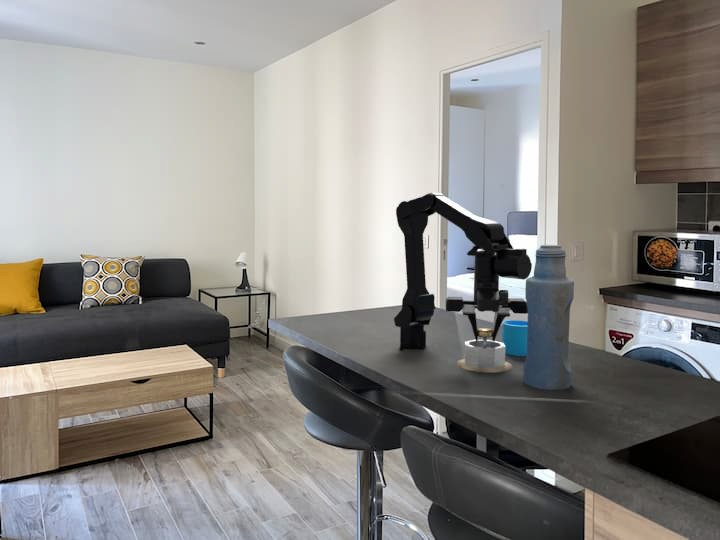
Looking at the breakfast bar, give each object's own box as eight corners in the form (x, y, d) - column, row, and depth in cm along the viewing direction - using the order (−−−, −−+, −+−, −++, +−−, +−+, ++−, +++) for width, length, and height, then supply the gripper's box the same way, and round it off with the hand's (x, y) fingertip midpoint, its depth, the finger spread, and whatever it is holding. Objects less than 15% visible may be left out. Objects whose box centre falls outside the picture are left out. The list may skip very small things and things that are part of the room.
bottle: (565, 395, 113) (571, 247, 110) (516, 387, 119) (521, 245, 116) (575, 383, 121) (581, 244, 118) (529, 376, 127) (533, 243, 124)
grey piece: (465, 369, 131) (466, 347, 130) (463, 355, 143) (463, 336, 142) (506, 370, 129) (506, 349, 129) (500, 357, 141) (501, 337, 141)
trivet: (457, 373, 129) (457, 370, 129) (455, 358, 142) (455, 356, 142) (515, 375, 127) (515, 373, 127) (508, 360, 140) (508, 358, 140)
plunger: (472, 362, 132) (473, 331, 131) (470, 356, 138) (471, 326, 137) (498, 363, 131) (499, 332, 130) (495, 357, 137) (496, 327, 136)
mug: (539, 357, 144) (541, 325, 143) (510, 358, 142) (511, 326, 142) (517, 346, 156) (518, 317, 155) (489, 347, 154) (490, 318, 153)
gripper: (446, 278, 126) (445, 347, 127) (533, 280, 123) (530, 350, 125) (446, 273, 137) (445, 336, 138) (525, 275, 134) (523, 339, 136)
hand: (484, 340), depth 134 cm, fingers closed on plunger, 3 cm apart
